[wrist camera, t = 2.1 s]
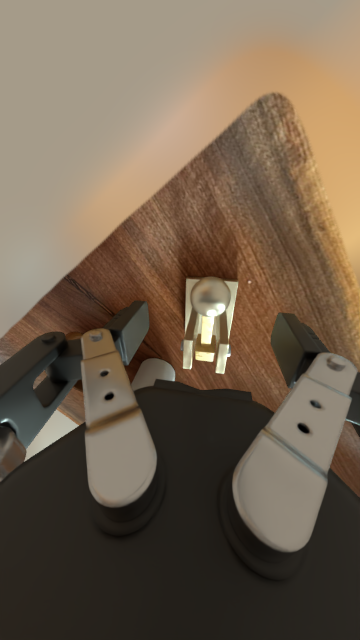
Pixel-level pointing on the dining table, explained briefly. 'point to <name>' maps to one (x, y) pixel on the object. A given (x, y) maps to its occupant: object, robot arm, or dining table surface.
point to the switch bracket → (219, 328)
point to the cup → (152, 373)
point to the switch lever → (209, 312)
